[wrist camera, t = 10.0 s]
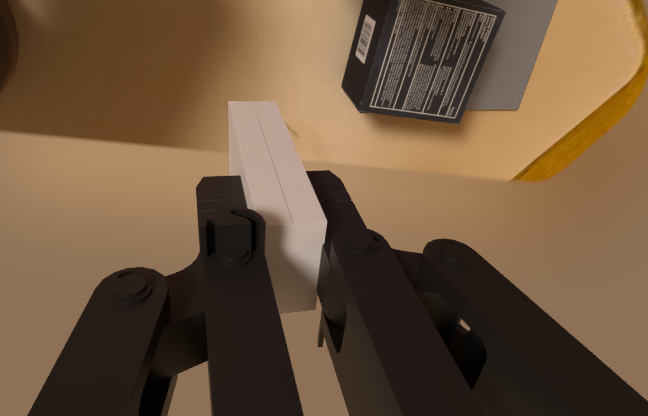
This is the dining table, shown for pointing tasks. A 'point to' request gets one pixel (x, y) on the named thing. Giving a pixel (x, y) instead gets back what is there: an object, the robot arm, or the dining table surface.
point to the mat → (512, 54)
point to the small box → (419, 56)
